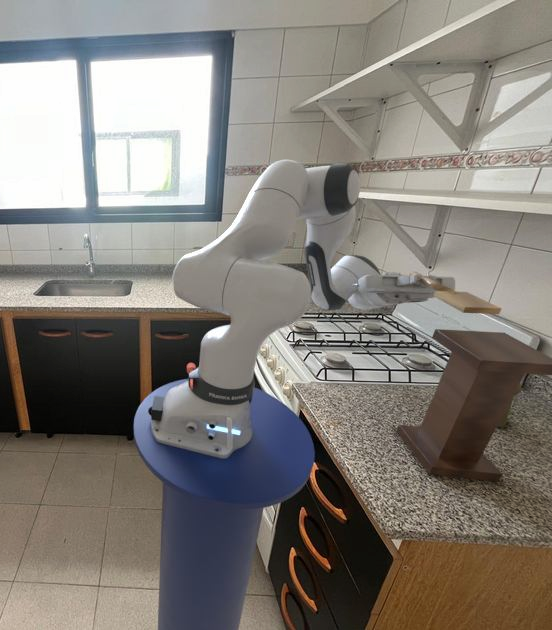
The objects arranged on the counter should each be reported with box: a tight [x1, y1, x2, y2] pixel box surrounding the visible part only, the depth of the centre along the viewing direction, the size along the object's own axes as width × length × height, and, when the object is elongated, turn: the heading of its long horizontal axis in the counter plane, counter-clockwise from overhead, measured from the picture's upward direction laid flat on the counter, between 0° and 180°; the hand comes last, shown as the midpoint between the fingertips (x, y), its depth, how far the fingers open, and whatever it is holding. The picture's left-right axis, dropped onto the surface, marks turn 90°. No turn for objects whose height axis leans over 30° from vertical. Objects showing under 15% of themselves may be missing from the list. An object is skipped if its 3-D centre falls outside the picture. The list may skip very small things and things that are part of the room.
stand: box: [395, 328, 552, 482], centre depth 67 cm, size 12×12×26 cm
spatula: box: [409, 271, 502, 315], centre depth 75 cm, size 6×23×2 cm, turn 171°
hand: (425, 278), depth 80 cm, fingers closed on spatula, 1 cm apart
